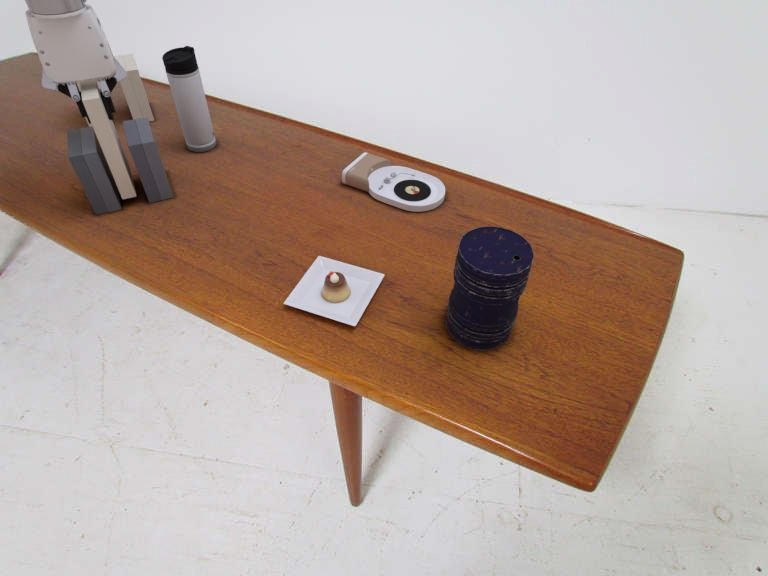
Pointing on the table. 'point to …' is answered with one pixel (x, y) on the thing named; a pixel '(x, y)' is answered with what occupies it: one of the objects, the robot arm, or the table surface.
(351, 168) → the record player
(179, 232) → the table surface
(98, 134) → the cream book
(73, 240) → the table surface
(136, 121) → the grey books
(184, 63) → the travel mug
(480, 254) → the dark blue barrel
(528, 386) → the table surface
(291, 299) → the dessert
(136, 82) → the white books
